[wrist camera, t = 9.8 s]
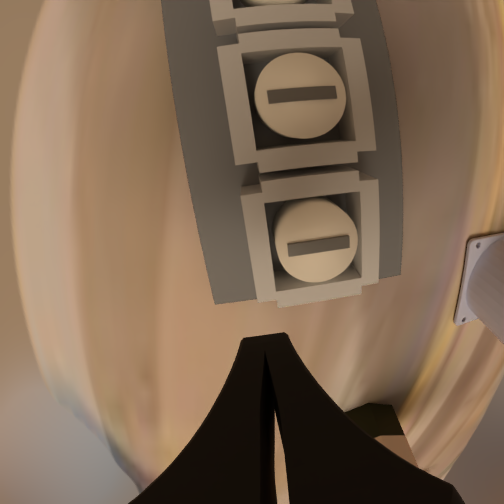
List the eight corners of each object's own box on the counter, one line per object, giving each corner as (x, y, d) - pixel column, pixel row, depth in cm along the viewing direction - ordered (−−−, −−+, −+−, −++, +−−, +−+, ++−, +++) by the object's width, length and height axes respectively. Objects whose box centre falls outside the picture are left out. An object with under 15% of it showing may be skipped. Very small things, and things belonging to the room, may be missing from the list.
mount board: (349, -44, 11) (369, -72, 8) (390, 264, 20) (417, 292, 16) (163, -31, 12) (146, -61, 8) (216, 291, 20) (211, 327, 16)
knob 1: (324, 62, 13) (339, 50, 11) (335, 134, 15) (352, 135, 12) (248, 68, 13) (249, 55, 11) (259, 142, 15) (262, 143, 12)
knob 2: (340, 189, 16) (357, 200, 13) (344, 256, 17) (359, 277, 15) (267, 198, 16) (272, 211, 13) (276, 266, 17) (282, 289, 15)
